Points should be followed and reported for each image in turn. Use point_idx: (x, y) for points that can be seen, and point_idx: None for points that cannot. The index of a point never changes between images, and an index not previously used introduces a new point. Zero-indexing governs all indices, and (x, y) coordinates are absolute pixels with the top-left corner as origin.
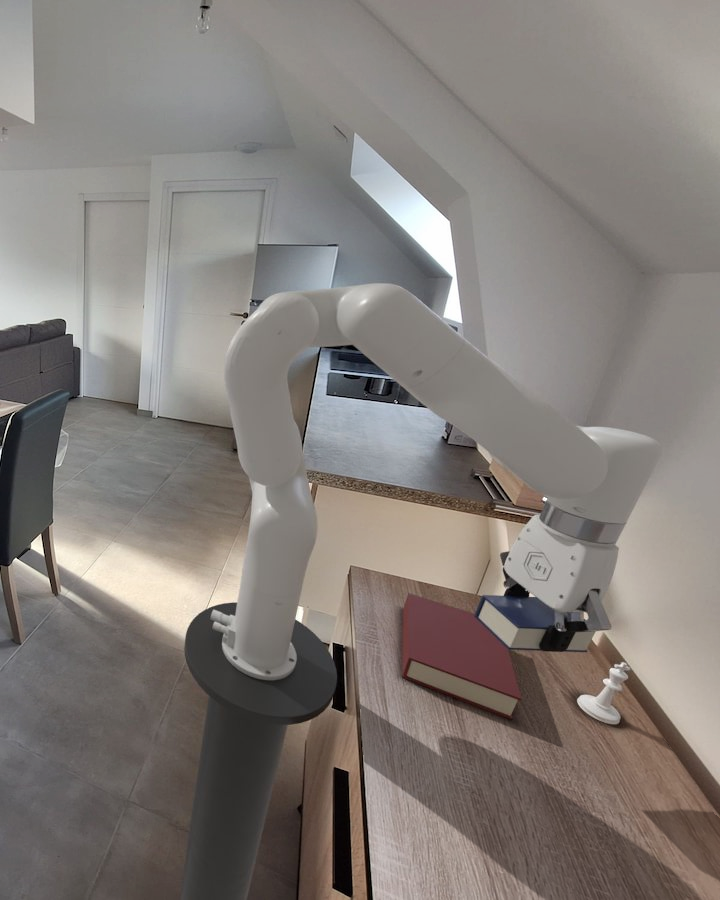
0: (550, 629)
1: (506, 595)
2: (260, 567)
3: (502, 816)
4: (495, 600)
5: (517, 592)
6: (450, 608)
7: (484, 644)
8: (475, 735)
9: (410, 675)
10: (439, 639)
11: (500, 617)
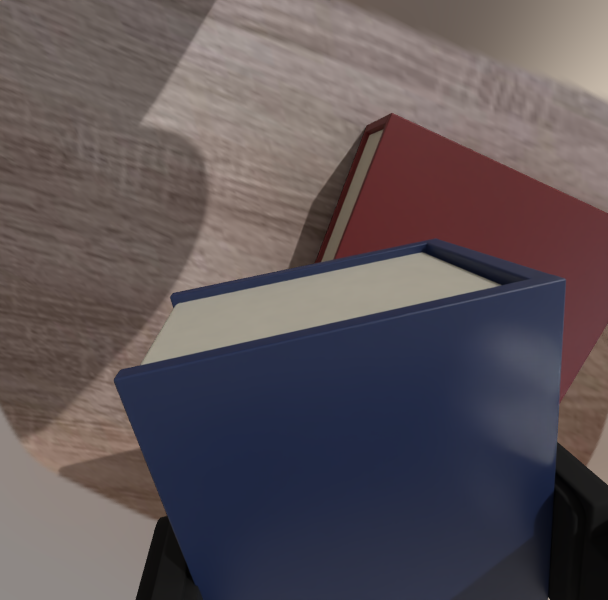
0: (166, 595)
1: (562, 472)
2: None
3: (26, 194)
4: (489, 355)
5: (584, 561)
6: (592, 330)
7: None
8: (227, 235)
9: (368, 142)
10: (474, 245)
11: (317, 319)
